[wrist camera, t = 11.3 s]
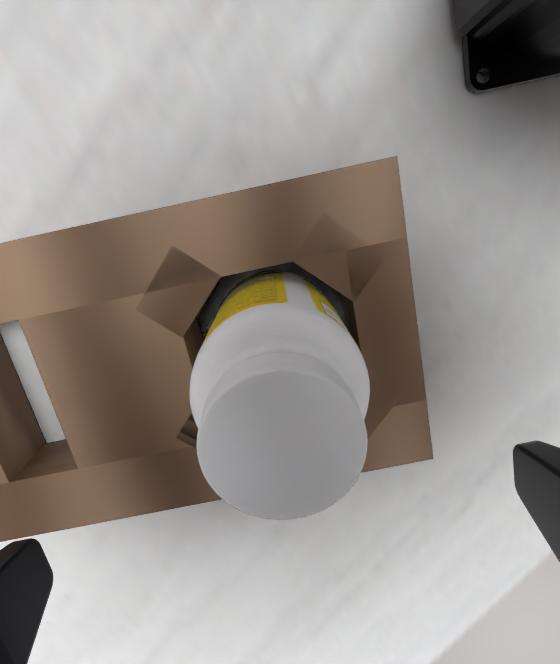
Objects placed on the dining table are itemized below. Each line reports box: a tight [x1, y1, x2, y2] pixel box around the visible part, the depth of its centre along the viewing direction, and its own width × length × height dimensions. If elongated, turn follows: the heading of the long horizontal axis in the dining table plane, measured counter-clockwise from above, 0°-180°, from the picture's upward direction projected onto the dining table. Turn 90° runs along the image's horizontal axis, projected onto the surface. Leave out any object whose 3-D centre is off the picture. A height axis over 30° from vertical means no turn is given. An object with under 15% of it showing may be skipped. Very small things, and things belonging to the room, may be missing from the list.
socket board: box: [0, 156, 433, 542], centre depth 18 cm, size 21×12×3 cm, turn 102°
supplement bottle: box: [190, 271, 370, 520], centre depth 14 cm, size 5×5×10 cm
